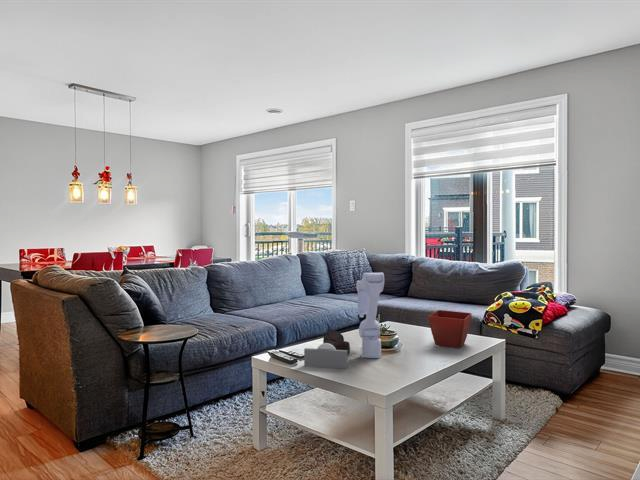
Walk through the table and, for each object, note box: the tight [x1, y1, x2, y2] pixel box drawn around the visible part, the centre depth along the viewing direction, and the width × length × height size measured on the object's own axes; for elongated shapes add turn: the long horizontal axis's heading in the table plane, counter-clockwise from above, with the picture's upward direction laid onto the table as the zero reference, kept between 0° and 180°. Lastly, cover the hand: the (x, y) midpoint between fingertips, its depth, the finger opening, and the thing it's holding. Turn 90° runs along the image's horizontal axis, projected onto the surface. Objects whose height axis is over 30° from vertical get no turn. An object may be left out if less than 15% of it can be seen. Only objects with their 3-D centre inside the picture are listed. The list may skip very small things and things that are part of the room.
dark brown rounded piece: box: [322, 330, 351, 356], centre depth 241 cm, size 10×15×15 cm
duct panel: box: [303, 343, 348, 370], centre depth 216 cm, size 20×3×10 cm, turn 78°
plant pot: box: [428, 309, 473, 349], centre depth 254 cm, size 19×19×17 cm
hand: (363, 328), depth 249 cm, fingers closed
